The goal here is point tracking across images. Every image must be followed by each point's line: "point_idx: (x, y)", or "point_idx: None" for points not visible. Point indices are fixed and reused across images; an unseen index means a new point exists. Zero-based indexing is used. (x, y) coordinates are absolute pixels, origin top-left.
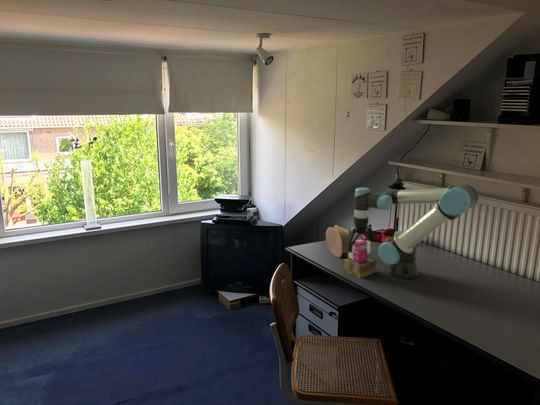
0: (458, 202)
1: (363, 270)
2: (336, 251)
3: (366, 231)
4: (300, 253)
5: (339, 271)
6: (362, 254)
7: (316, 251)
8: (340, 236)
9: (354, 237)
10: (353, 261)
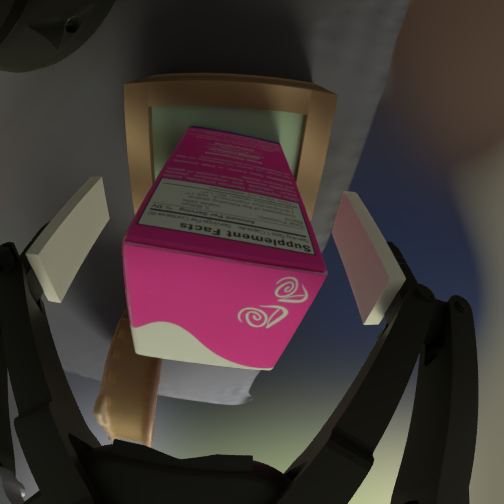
0: None
1: (285, 82)
2: None
3: (52, 465)
4: (251, 383)
5: None
6: (242, 163)
7: (195, 372)
8: (152, 409)
9: (387, 412)
10: None
